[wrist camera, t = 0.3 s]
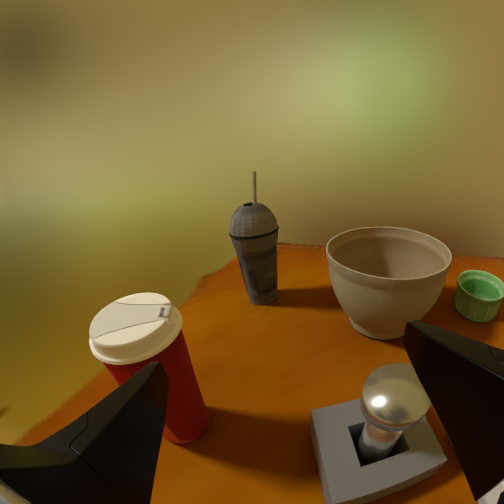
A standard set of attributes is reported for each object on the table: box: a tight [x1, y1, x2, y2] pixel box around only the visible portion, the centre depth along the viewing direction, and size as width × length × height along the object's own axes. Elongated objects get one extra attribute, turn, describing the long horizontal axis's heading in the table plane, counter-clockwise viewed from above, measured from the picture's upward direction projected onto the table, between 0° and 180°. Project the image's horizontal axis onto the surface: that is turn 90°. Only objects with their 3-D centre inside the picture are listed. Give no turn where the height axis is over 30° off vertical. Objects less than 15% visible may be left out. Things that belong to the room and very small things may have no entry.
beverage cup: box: [229, 172, 279, 305], centre depth 41 cm, size 7×7×20 cm
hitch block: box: [310, 398, 447, 504], centre depth 16 cm, size 9×9×4 cm
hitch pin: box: [355, 363, 431, 467], centre depth 15 cm, size 5×5×10 cm
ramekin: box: [455, 270, 504, 323], centre depth 29 cm, size 9×9×4 cm
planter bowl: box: [326, 227, 452, 340], centre depth 32 cm, size 16×16×11 cm
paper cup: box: [89, 293, 209, 444], centre depth 21 cm, size 8×8×14 cm
